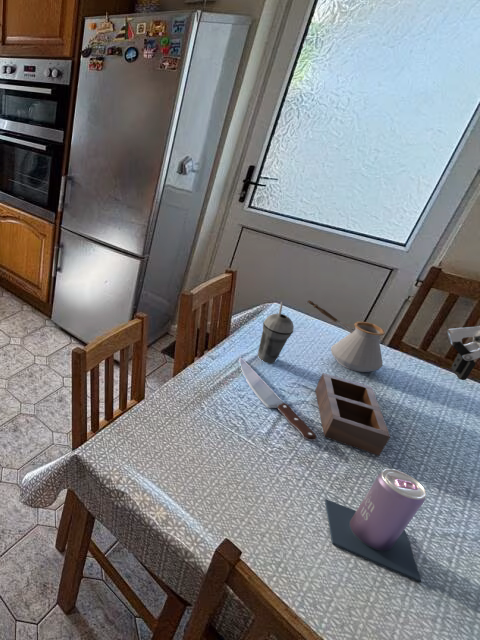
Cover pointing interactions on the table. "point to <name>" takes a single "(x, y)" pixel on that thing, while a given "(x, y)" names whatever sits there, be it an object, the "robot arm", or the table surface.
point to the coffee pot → (357, 345)
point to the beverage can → (387, 509)
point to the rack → (351, 414)
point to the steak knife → (274, 401)
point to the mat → (344, 538)
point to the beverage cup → (274, 336)
